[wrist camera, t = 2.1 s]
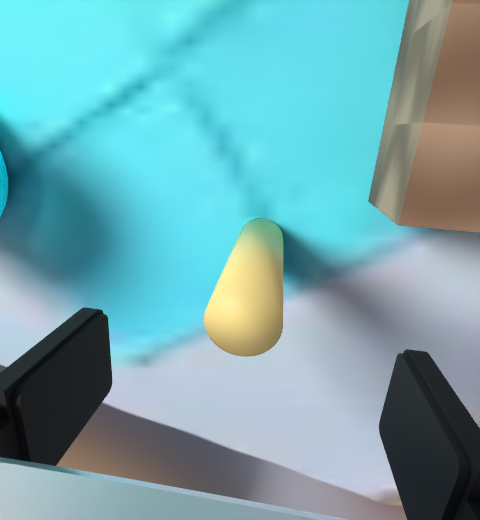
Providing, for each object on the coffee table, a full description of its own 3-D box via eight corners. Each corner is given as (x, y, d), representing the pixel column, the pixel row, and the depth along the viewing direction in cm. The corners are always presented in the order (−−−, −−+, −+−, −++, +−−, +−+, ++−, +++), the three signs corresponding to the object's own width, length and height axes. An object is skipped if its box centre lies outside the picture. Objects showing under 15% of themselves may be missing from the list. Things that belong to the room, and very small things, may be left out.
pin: (240, 216, 21) (205, 283, 11) (286, 220, 20) (287, 292, 11) (238, 258, 22) (203, 351, 12) (281, 263, 22) (278, 361, 12)
